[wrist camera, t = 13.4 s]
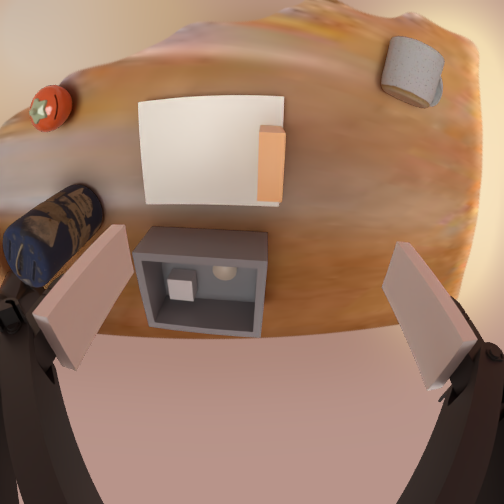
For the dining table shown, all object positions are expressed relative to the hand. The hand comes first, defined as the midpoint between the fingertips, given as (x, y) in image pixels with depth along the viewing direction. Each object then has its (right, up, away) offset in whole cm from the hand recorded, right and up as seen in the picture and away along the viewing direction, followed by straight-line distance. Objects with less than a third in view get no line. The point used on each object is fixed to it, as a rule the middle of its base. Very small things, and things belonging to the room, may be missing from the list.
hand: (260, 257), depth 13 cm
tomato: (-30, +23, +19) cm, 43 cm away
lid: (-6, +14, +23) cm, 28 cm away
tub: (-7, -2, +33) cm, 34 cm away
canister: (-29, +8, +28) cm, 41 cm away
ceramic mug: (+21, +25, +16) cm, 36 cm away
